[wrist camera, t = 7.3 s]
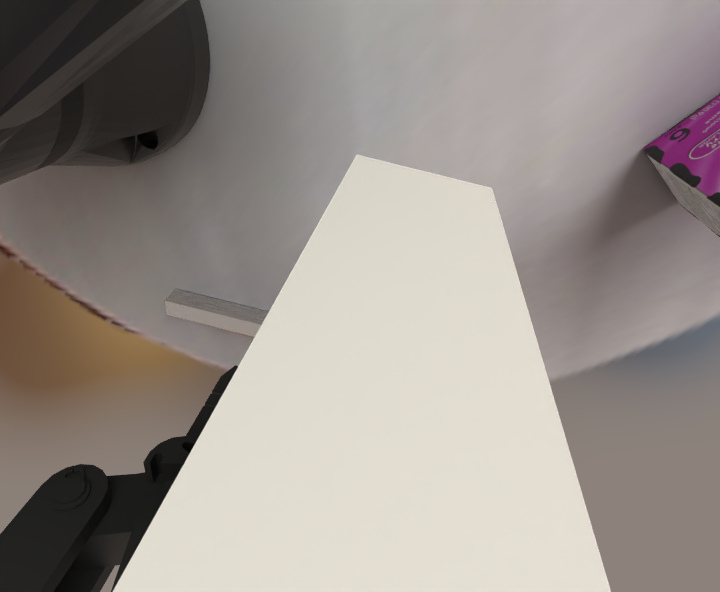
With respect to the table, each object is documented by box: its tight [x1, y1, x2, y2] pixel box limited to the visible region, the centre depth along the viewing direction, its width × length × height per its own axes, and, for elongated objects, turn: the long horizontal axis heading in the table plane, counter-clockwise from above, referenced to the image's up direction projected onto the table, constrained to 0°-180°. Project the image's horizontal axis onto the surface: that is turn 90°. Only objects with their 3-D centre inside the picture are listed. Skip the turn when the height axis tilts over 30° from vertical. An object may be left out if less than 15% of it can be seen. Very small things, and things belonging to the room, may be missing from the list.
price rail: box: [165, 289, 269, 337], centre depth 35 cm, size 20×2×2 cm, turn 79°
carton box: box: [113, 155, 611, 592], centre depth 11 cm, size 5×11×13 cm, turn 169°
